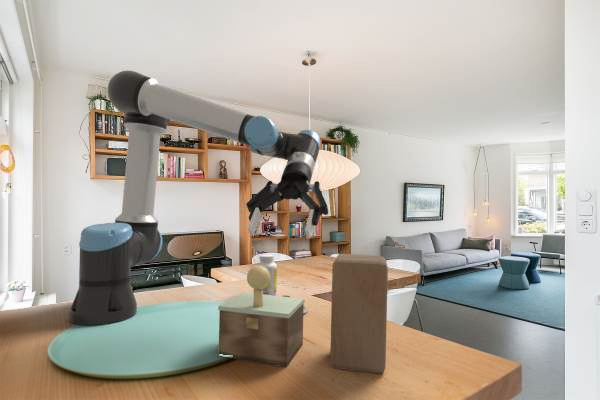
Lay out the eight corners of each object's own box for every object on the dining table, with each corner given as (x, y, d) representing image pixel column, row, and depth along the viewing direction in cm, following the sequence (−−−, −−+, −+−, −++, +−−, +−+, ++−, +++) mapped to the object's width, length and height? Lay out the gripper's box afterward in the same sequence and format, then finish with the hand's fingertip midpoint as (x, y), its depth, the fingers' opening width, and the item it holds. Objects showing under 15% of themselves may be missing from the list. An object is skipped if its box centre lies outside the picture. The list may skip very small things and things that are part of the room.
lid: (218, 310, 70) (219, 265, 70) (242, 295, 81) (243, 257, 81) (288, 318, 66) (289, 270, 66) (304, 302, 77) (305, 261, 77)
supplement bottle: (270, 291, 121) (271, 253, 121) (280, 296, 116) (281, 256, 116) (252, 293, 118) (253, 254, 118) (261, 298, 112) (262, 257, 112)
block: (385, 376, 64) (388, 263, 64) (329, 369, 66) (332, 260, 66) (383, 353, 73) (386, 255, 73) (335, 348, 75) (337, 252, 75)
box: (217, 356, 70) (219, 310, 70) (242, 336, 80) (243, 296, 80) (286, 367, 66) (287, 318, 66) (302, 344, 77) (303, 302, 77)
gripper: (251, 161, 96) (223, 219, 82) (343, 160, 90) (330, 224, 75) (258, 182, 101) (232, 240, 87) (346, 183, 95) (334, 246, 80)
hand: (278, 233), depth 81 cm, fingers open, 13 cm apart
